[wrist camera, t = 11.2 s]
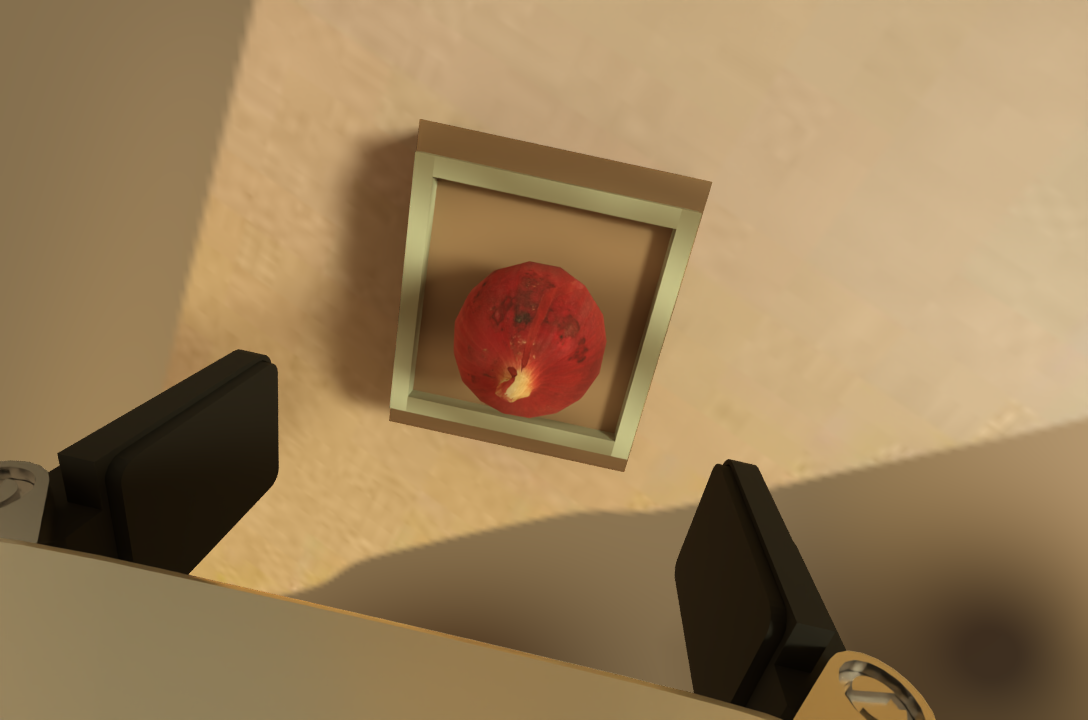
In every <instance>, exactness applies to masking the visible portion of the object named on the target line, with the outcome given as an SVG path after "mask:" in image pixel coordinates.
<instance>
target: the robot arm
mask: <svg viewBox="0 0 1088 720" xmlns="http://www.w3.org/2000/svg"><path fill="white" fill-rule="evenodd" d="M58 459H59V464H60V466H58V467H57V468H55V469H53V470H52V471H50V472H47V470H45V469H44V468H43V467H42V466H40V465H37V464H34V463H31V462H25V461H0V720H936V719H935V717H934V714H933V712H932V710H931V709H930V707H929V706H928V704H927V703H926V701H925V699H924V698H923V696H922V695H921V694H920V693H919V692H918V691H917V690H916V689H915V688H914V687H913V685H912V684H911V683H910V682H909V681H908V680H906V679H905V678H904V677H903V676H902V675H900V674H899V673H898V672H896V671H895V670H894V669H893V668H891V667H890V666H888V665H886V664H885V663H883V662H881V661H880V660H878V659H876V658H873V657H871V656H868V655H866V654H863V653H859V652H853V651H846V649H845V647H844V645H843V643H842V641H841V638H840V636H839V634H838V632H837V630H836V628H835V626H834V624H833V622H832V620H831V617H830V616H829V613H828V611H827V609H826V607H825V605H824V603H823V601H822V599H821V596H820V594H819V592H818V590H817V588H816V586H815V584H814V582H813V580H812V578H811V576H810V573H809V572H808V569H807V567H806V565H805V563H804V561H803V559H802V557H801V555H800V553H799V550H798V548H797V546H796V545H795V543H794V542H793V540H792V538H791V536H790V534H789V532H788V530H787V528H786V526H785V523H784V521H783V519H782V517H781V515H780V513H779V511H778V509H777V506H776V504H775V502H774V500H773V498H772V496H771V494H770V492H769V490H768V487H767V485H766V483H765V481H764V479H763V477H762V475H761V473H760V471H759V469H758V467H757V466H756V465H752V464H748V463H744V462H739V461H735V460H730V459H728V460H726V461H725V462H724V464H723V465H721V464H716V465H715V466H714V468H713V470H712V472H711V475H710V478H709V480H708V483H707V485H706V488H705V490H704V493H703V495H702V498H701V500H700V503H699V505H698V508H697V510H696V513H695V516H694V518H693V521H692V523H691V526H690V528H689V531H688V534H687V536H686V538H685V541H684V543H683V546H682V549H681V551H680V554H679V556H678V559H677V562H676V566H675V581H676V588H677V594H678V599H679V605H680V612H681V617H682V624H683V630H684V636H685V642H686V648H687V654H688V659H689V666H690V672H691V678H692V684H693V690H694V693H691V692H688V691H683V690H679V689H675V688H671V687H666V686H662V685H658V684H653V683H650V682H646V681H642V680H638V679H633V678H630V677H626V676H622V675H618V674H614V673H610V672H606V671H601V670H597V669H593V668H588V667H585V666H580V665H576V664H572V663H568V662H564V661H559V660H555V659H551V658H547V657H542V656H537V655H534V654H530V653H525V652H521V651H517V650H513V649H509V648H504V647H500V646H496V645H492V644H488V643H484V642H479V641H475V640H471V639H466V638H462V637H458V636H454V635H449V634H445V633H441V632H436V631H432V630H428V629H423V628H419V627H415V626H411V625H406V624H402V623H397V622H393V621H389V620H385V619H380V618H376V617H371V616H367V615H363V614H359V613H354V612H350V611H346V610H341V609H337V608H332V607H328V606H324V605H320V604H315V603H311V602H306V601H302V600H297V599H293V598H289V597H285V596H280V595H276V594H271V593H267V592H262V591H258V590H253V589H249V588H245V587H240V586H236V585H231V584H227V583H222V582H218V581H214V580H209V579H205V578H200V577H196V576H191V575H188V574H189V573H190V572H191V571H192V570H193V569H194V568H195V567H196V566H197V565H198V564H199V563H200V562H201V560H202V559H203V558H204V557H205V556H206V555H207V554H208V553H209V552H210V551H211V550H212V549H213V548H214V547H215V546H216V545H217V544H218V543H219V542H220V540H221V539H222V538H223V537H224V536H225V535H226V534H227V533H228V532H229V531H230V530H231V529H232V528H233V527H234V526H235V525H236V524H237V523H238V521H239V520H240V519H241V518H242V517H243V516H244V515H245V514H246V513H247V512H248V511H249V510H250V509H251V508H252V507H253V506H254V505H255V504H256V502H257V501H258V500H259V499H260V498H261V497H262V496H263V495H264V494H265V493H266V492H267V491H268V490H269V489H270V488H271V486H272V485H273V484H274V482H275V480H276V478H277V475H278V469H279V454H278V371H277V367H276V365H274V364H271V361H270V358H269V357H268V356H267V355H262V354H258V353H253V352H249V351H244V350H239V349H238V350H235V351H233V352H232V353H230V354H228V355H226V356H225V357H223V358H221V359H219V360H218V361H216V362H214V363H213V364H211V365H209V366H207V367H206V368H204V369H202V370H201V371H199V372H197V373H195V374H194V375H192V376H190V377H188V378H187V379H185V380H183V381H182V382H180V383H178V384H176V385H175V386H173V387H171V388H169V389H168V390H166V391H164V392H163V393H161V394H159V395H157V396H156V397H154V398H152V399H150V400H149V401H147V402H145V403H144V404H142V405H140V406H138V407H137V408H135V409H133V410H132V411H130V412H128V413H126V414H125V415H123V416H121V417H119V418H118V419H116V420H114V421H112V422H111V423H109V424H107V425H106V426H104V427H102V428H101V429H99V430H97V431H95V432H93V433H92V434H90V435H88V436H87V437H85V438H83V439H81V440H80V441H78V442H76V443H75V444H73V445H71V446H69V447H68V448H66V449H64V450H63V451H61V452H59V453H58Z"/></svg>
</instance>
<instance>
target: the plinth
mask: <svg viewBox="0 0 1088 720" xmlns="http://www.w3.org/2000/svg"><path fill="white" fill-rule="evenodd" d="M711 185H712V182H710V181H705V180H701V179H696V178H691V177H687V176H682V175H677V174H673V173H668V172H664V171H659V170H654V169H650V168H645V167H640V166H636V165H631V164H626V163H622V162H617V161H613V160H608V159H603V158H599V157H594V156H589V155H585V154H580V153H576V152H571V151H566V150H562V149H557V148H552V147H548V146H543V145H538V144H534V143H529V142H525V141H520V140H515V139H511V138H506V137H501V136H497V135H492V134H488V133H483V132H478V131H474V130H469V129H464V128H460V127H455V126H450V125H446V124H441V123H437V122H432V121H427V120H423V119H420V121H419V131H418V141H417V151H415V159H414V169H413V179H412V189H411V199H410V209H409V219H408V229H407V239H406V249H405V259H404V269H403V279H402V289H401V299H400V309H399V319H398V329H397V339H396V349H395V359H394V369H393V379H392V389H391V399H390V408H391V409H390V419H389V421H392V422H397V423H402V424H406V425H411V426H415V427H420V428H424V429H429V430H434V431H438V432H443V433H447V434H452V435H457V436H461V437H466V438H470V439H475V440H479V441H484V442H489V443H493V444H498V445H502V446H507V447H511V448H516V449H521V450H525V451H530V452H534V453H539V454H544V455H548V456H553V457H557V458H562V459H566V460H571V461H576V462H580V463H585V464H589V465H594V466H598V467H603V468H608V469H612V470H617V471H621V472H624V471H625V467H626V464H627V461H628V458H629V454H630V451H631V448H632V444H633V441H634V438H635V435H636V431H637V428H638V425H639V421H640V418H641V415H642V412H643V408H644V405H645V402H646V398H647V395H648V392H649V389H650V385H651V382H652V379H653V375H654V372H655V369H656V366H657V362H658V359H659V356H660V352H661V349H662V346H663V343H664V339H665V336H666V333H667V329H668V326H669V323H670V320H671V316H672V313H673V310H674V306H675V303H676V300H677V297H678V293H679V290H680V287H681V283H682V280H683V277H684V274H685V270H686V267H687V264H688V260H689V257H690V254H691V251H692V247H693V244H694V241H695V237H696V234H697V231H698V228H699V224H700V221H701V218H702V214H703V211H704V208H705V205H706V201H707V198H708V195H709V191H710V188H711ZM528 261H531V262H536V263H542V264H547V265H552V266H557V267H561V268H562V269H564V270H565V271H566V272H568V273H569V274H570V275H572V276H573V277H574V278H576V279H577V280H578V281H580V282H581V283H582V284H584V285H585V286H586V288H587V289H588V291H589V293H590V294H591V296H592V297H593V299H594V301H595V302H596V304H597V306H598V307H599V309H600V311H601V312H602V314H603V318H604V325H605V333H606V341H607V342H606V346H605V351H604V355H603V360H602V364H601V369H600V373H599V375H598V376H597V378H596V379H595V380H594V382H593V383H592V385H591V386H590V387H589V389H588V390H587V392H586V393H585V394H584V396H583V397H582V398H581V399H580V400H578V401H577V402H575V403H573V404H571V405H570V406H568V407H566V408H564V409H563V410H561V411H559V412H558V413H555V414H549V415H544V416H538V417H532V418H526V417H520V416H514V415H509V414H503V413H501V412H500V411H498V410H496V409H494V408H492V407H490V406H489V405H487V404H485V403H483V402H481V401H480V400H479V399H478V398H477V397H476V396H475V395H474V393H473V392H472V391H471V390H470V389H469V388H468V387H467V386H466V385H465V384H464V383H463V382H462V379H461V376H460V372H459V369H458V366H457V363H456V359H455V356H454V329H455V320H456V318H457V316H458V314H459V312H460V310H461V308H462V306H463V304H464V302H465V300H466V298H467V296H468V295H469V293H470V292H471V290H472V289H473V288H474V287H475V286H477V285H478V284H479V283H480V282H481V281H482V280H484V279H485V278H486V277H487V276H488V275H489V274H491V273H492V272H493V271H494V270H498V269H502V268H505V267H509V266H513V265H517V264H521V263H525V262H528Z"/></svg>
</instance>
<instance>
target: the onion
mask: <svg viewBox="0 0 1088 720" xmlns="http://www.w3.org/2000/svg"><path fill="white" fill-rule="evenodd" d="M606 342H607V341H606V333H605V325H604V318H603V314H602V312H601V311H600V309H599V307H598V306H597V304H596V302H595V301H594V299H593V297H592V296H591V294H590V293H589V291H588V289H587V288H586V286H585V285H584V284H582V283H581V282H580V281H578V280H577V279H576V278H574V277H573V276H572V275H570V274H569V273H568V272H566V271H565V270H564V269H562V268H561V267H557V266H552V265H547V264H542V263H536V262H531V261H528V262H525V263H521V264H517V265H513V266H509V267H505V268H502V269H498V270H494V271H493V272H492V273H491V274H489V275H488V276H487V277H486V278H485V279H484V280H482V281H481V282H480V283H479V284H478V285H477V286H475V287H474V288H473V289H472V290H471V292H470V293H469V295H468V296H467V298H466V300H465V302H464V304H463V306H462V308H461V310H460V312H459V314H458V316H457V318H456V320H455V329H454V356H455V359H456V363H457V366H458V369H459V372H460V376H461V379H462V382H463V383H464V384H465V385H466V386H467V387H468V388H469V389H470V390H471V391H472V392H473V393H474V395H475V396H476V397H477V398H478V399H479V400H480V401H481V402H483V403H485V404H487V405H489V406H490V407H492V408H494V409H496V410H498V411H500V412H501V413H503V414H509V415H514V416H520V417H526V418H532V417H538V416H544V415H549V414H555V413H558V412H559V411H561V410H563V409H564V408H566V407H568V406H570V405H571V404H573V403H575V402H577V401H578V400H580V399H581V398H582V397H583V396H584V394H585V393H586V392H587V390H588V389H589V387H590V386H591V385H592V383H593V382H594V380H595V379H596V378H597V376H598V375H599V373H600V369H601V364H602V360H603V355H604V351H605V346H606Z"/></svg>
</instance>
